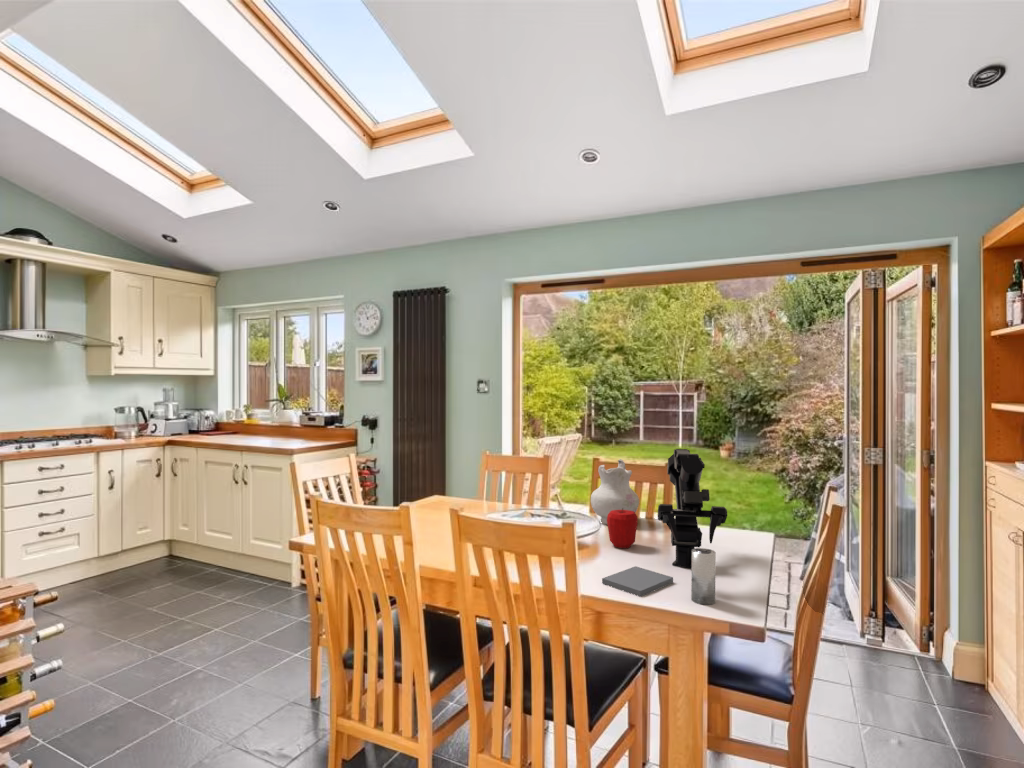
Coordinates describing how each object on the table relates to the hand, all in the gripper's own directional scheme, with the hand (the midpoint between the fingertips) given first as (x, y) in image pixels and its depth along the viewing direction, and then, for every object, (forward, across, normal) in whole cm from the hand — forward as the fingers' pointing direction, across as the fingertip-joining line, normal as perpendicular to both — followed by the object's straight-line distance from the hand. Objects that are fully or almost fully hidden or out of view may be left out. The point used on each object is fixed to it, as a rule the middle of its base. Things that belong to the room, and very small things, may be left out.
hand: (693, 541), depth 158 cm
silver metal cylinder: (+15, +2, +2) cm, 15 cm away
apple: (-13, -20, +38) cm, 44 cm away
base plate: (+9, -15, +10) cm, 20 cm away
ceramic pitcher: (-35, -22, +65) cm, 77 cm away
